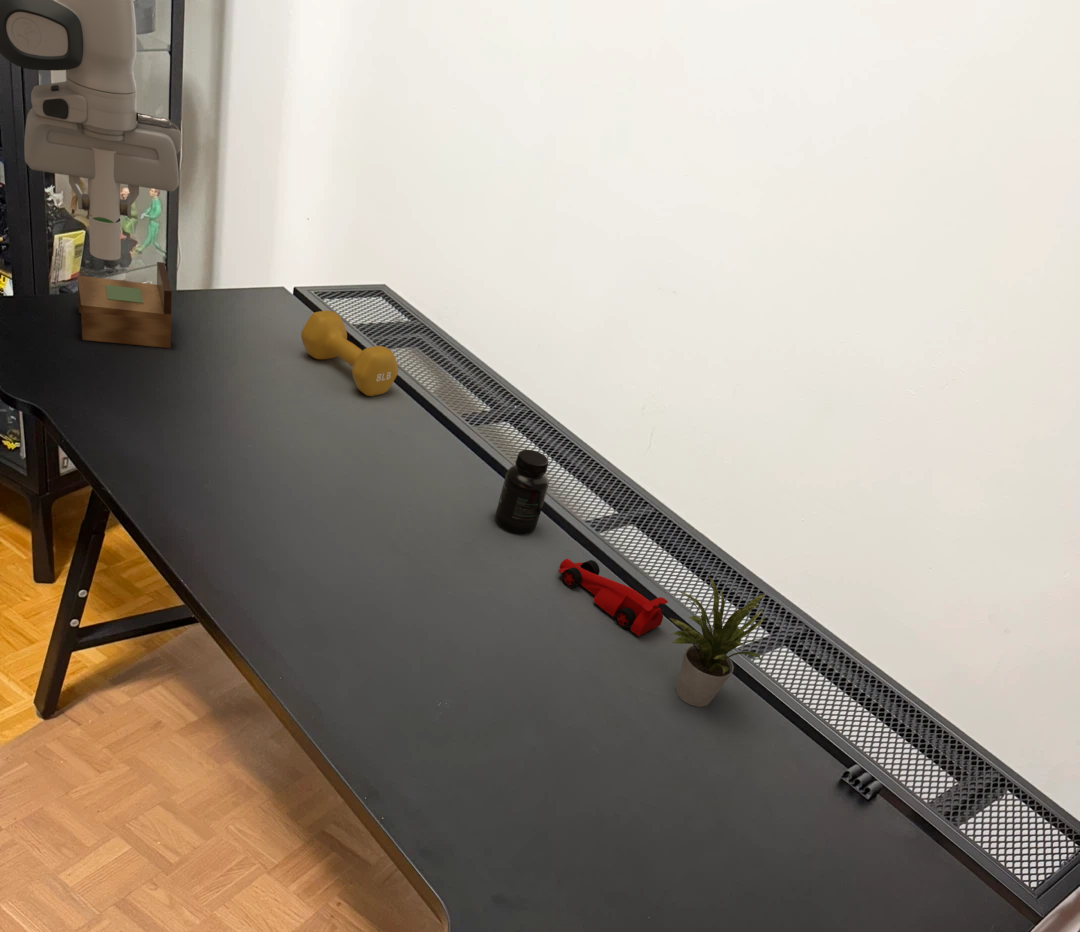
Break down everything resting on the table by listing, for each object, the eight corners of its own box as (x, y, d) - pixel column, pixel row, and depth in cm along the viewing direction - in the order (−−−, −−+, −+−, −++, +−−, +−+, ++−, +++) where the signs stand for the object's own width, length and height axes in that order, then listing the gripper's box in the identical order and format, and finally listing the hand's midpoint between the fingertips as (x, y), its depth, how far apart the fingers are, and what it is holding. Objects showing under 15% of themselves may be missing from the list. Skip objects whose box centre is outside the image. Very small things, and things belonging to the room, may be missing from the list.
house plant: (679, 644, 150) (719, 552, 139) (757, 695, 145) (805, 604, 135) (628, 681, 140) (668, 585, 129) (711, 737, 136) (759, 642, 125)
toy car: (574, 564, 159) (583, 537, 155) (660, 627, 152) (671, 600, 149) (549, 574, 155) (558, 547, 151) (636, 639, 148) (647, 612, 145)
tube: (83, 250, 151) (79, 140, 142) (107, 247, 154) (106, 139, 145) (102, 261, 150) (100, 152, 141) (127, 258, 153) (126, 150, 144)
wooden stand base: (82, 340, 171) (80, 280, 164) (78, 309, 178) (76, 251, 172) (170, 348, 176) (171, 291, 170) (163, 318, 184) (164, 262, 178)
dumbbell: (398, 394, 186) (406, 352, 181) (360, 401, 180) (367, 358, 175) (333, 348, 193) (339, 305, 188) (294, 353, 187) (299, 310, 182)
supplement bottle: (494, 508, 165) (511, 442, 157) (534, 517, 166) (554, 451, 159) (494, 530, 160) (512, 463, 152) (536, 539, 161) (556, 473, 153)
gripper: (179, 114, 146) (177, 214, 155) (20, 84, 137) (27, 192, 146) (184, 128, 142) (181, 230, 151) (20, 98, 133) (27, 208, 142)
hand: (104, 211), depth 148 cm, fingers closed on tube, 4 cm apart
